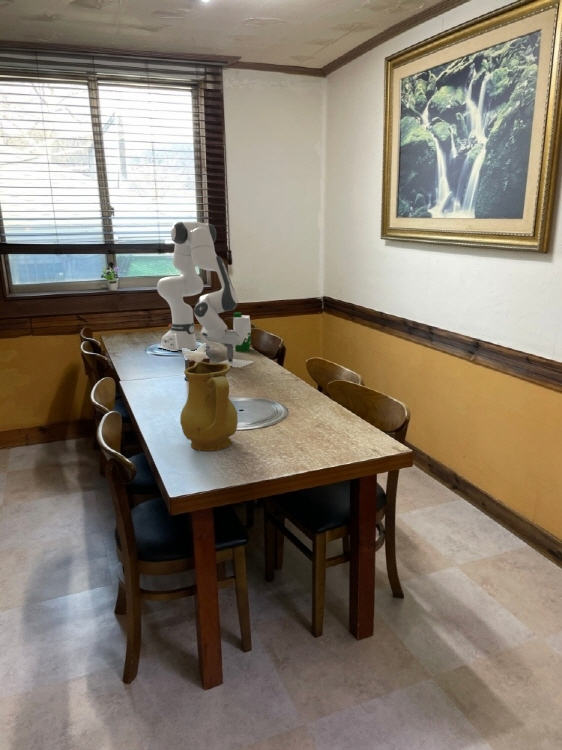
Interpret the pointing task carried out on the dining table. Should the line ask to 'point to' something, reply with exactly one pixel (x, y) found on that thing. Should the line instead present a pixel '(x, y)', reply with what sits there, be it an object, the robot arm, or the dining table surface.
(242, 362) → the paper
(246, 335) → the milk carton
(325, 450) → the dining table surface
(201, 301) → the robot arm
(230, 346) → the marker
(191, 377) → the pitcher
